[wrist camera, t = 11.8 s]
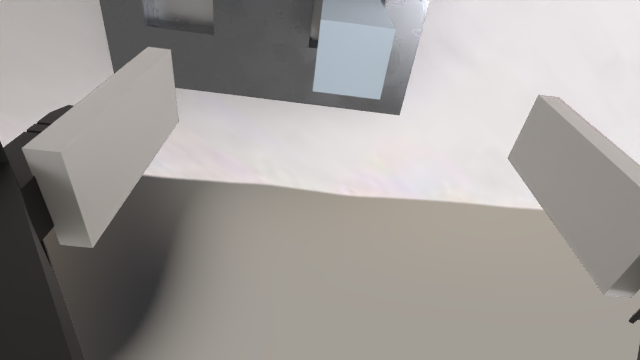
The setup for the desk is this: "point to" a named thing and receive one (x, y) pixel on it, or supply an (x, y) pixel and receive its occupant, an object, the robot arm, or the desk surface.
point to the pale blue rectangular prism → (353, 48)
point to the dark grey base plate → (254, 46)
